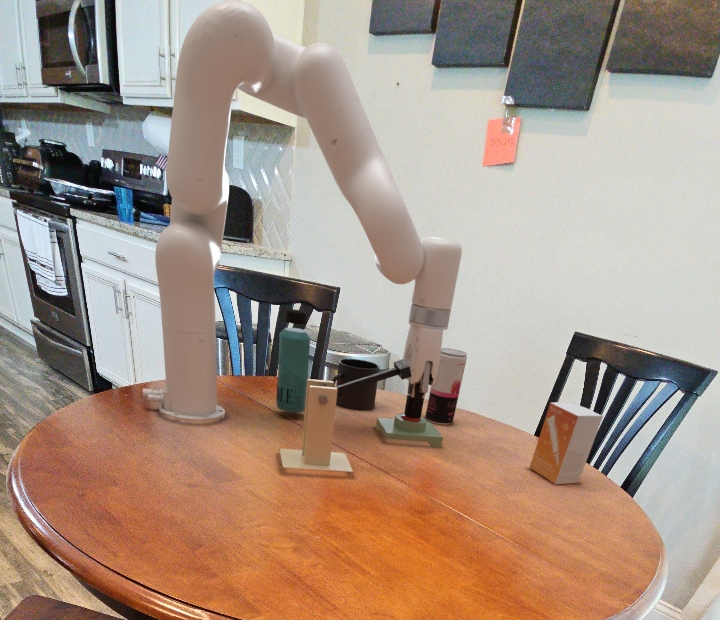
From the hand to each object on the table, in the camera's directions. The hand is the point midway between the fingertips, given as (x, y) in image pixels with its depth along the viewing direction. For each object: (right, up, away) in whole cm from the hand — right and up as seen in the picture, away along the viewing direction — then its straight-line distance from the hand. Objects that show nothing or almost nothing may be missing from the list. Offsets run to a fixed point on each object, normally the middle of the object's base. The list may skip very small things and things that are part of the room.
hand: (412, 416), depth 121 cm
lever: (-11, -5, -24) cm, 27 cm away
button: (0, -1, +1) cm, 2 cm away
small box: (+28, -14, -5) cm, 31 cm away
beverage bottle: (-26, +2, +4) cm, 26 cm away
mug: (-13, +9, +17) cm, 23 cm away
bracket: (-19, -16, -18) cm, 30 cm away
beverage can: (+8, +5, +16) cm, 18 cm away
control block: (-1, -3, +3) cm, 4 cm away
